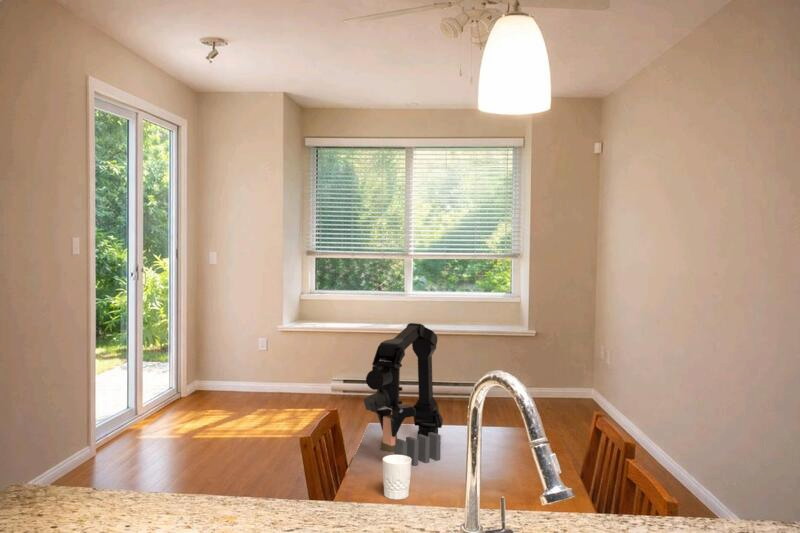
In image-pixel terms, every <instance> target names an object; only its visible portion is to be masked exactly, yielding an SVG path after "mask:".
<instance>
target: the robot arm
mask: <svg viewBox="0 0 800 533" xmlns="http://www.w3.org/2000/svg"><path fill="white" fill-rule="evenodd" d="M437 344H438V335H437V333H435V332H434V331H433V330H432V329H430V328H428V327H425V325H424V324H422V323H416V322H410V323H408V324H407V325H406V327H405V328H404V329H403V330H402V331H400V333H398V334H397V335H396V336H395V337H393V338H390V339H386V340H382V342H380V343H379V345H378V346H377V349H376V351H375V355H374V357H373V360H372V368H371V370H370V371H369V372H368V373H367V375H366V377H365V383H366V384H367V387H369V388H370V389H371V390H375V391H376V392H375V393H372V394H370V395H368V396H367V397H365V398H364V399H363V400H362V401H363V403H364V407H365V410H367V411H370V412H372V413H374V414H376V415H377V418H378V420H379V424H380V427H381V430H382V432H383V416H388V417H389V418H390V420H391V432H392V436H393V437H394V436H396V434H397V435H398V432H399V430H400V428H401V426H402V423H404V421H405V419H407V418H411V417H412V418H413V422H414V426H418V429H417V435H419V434H422V435H425V436H427V437H428V433H430V432H433V433H436V434H439V429H441V428H442V427H443V424H444V422H443V421H444V420H443V417H442V415H441V413H440V411H439V404H438V402H437V401H436V398H435V397H434V394H433V393H434V392H433V390H434V389H433V388H434V386H433V355H434V354H435V351H436V349H437ZM410 346H412V351H413V352H414V354H415V356H416V357H417V381H418V400H416V403H414V404H413V406H412V405H409V404H403V400H401V399H400V392H402V391H403V387H402V386H400V383H401V382H400V375H401V374H400V373H401V368H402V367H403V365H402V361H403V359H404V357H405V355H406V349H408V348H409V347H410Z"/></svg>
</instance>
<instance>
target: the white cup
mask: <svg viewBox="0 0 800 533" xmlns="http://www.w3.org/2000/svg"><path fill="white" fill-rule="evenodd" d="M411 460H412V459H411V458H410V457H408V456H404V455H394V454H390V455H385V456H383V457H382V477H383V478H382V480H383V484H382V485H383V495H384V497H385V498H387V499H389V500H403V499H404V500H405V499H406V498H409V495H410V485H411V476H412V475H411V473H412V465H411Z"/></svg>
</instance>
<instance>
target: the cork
mask: <svg viewBox="0 0 800 533" xmlns="http://www.w3.org/2000/svg"><path fill="white" fill-rule="evenodd" d="M395 439H398V433H397V434H396V436H395ZM380 450H381V452H385V451H386V452H385V453H392V452H393V453H394V445H393V446H390V445H388V444H385V443H383V435H382V436H381V442H380Z"/></svg>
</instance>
